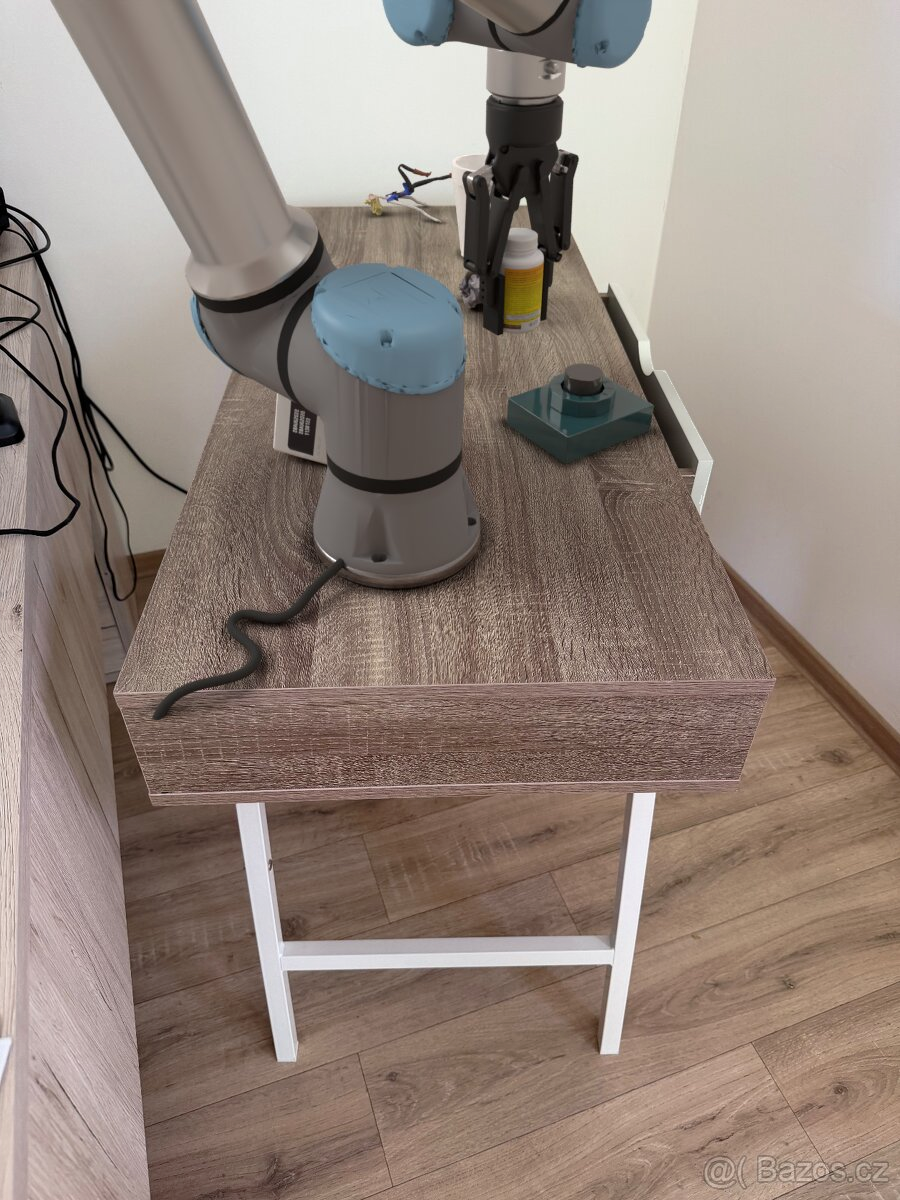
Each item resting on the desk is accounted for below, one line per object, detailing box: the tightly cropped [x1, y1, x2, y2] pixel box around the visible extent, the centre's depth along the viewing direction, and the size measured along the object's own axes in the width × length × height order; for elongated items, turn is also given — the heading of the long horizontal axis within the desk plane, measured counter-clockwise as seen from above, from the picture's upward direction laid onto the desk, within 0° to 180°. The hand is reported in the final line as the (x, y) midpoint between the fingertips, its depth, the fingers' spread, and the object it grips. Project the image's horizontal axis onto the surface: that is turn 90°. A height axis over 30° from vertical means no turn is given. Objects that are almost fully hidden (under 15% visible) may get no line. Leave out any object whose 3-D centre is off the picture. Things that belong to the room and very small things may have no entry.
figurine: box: [362, 163, 452, 224], centre depth 153 cm, size 10×9×20 cm
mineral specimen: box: [457, 267, 483, 309], centre depth 122 cm, size 12×9×10 cm
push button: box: [563, 362, 604, 397], centre depth 97 cm, size 4×4×2 cm
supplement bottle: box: [499, 227, 544, 335], centre depth 101 cm, size 6×6×10 cm
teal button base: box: [506, 372, 655, 465], centre depth 99 cm, size 12×10×5 cm
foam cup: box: [451, 152, 509, 258], centre depth 135 cm, size 10×9×13 cm
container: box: [272, 393, 327, 465], centre depth 93 cm, size 8×8×13 cm
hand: (514, 322), depth 104 cm, fingers closed on supplement bottle, 6 cm apart
